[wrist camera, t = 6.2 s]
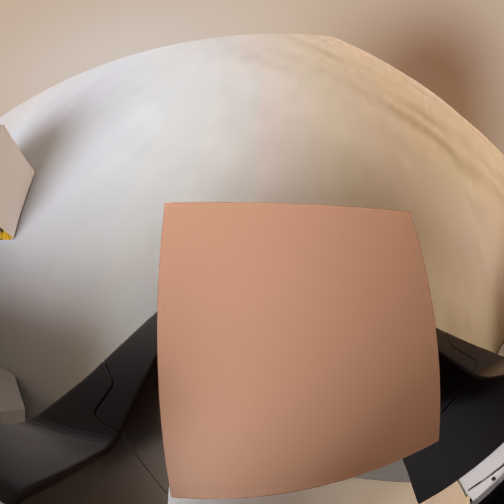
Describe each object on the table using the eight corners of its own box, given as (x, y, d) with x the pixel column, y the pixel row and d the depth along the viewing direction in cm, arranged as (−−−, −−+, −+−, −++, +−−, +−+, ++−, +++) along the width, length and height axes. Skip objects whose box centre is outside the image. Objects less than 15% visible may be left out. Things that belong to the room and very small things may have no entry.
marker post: (290, 393, 14) (438, 440, 3) (204, 398, 14) (171, 497, 3) (285, 311, 16) (409, 211, 5) (201, 314, 16) (164, 203, 5)
